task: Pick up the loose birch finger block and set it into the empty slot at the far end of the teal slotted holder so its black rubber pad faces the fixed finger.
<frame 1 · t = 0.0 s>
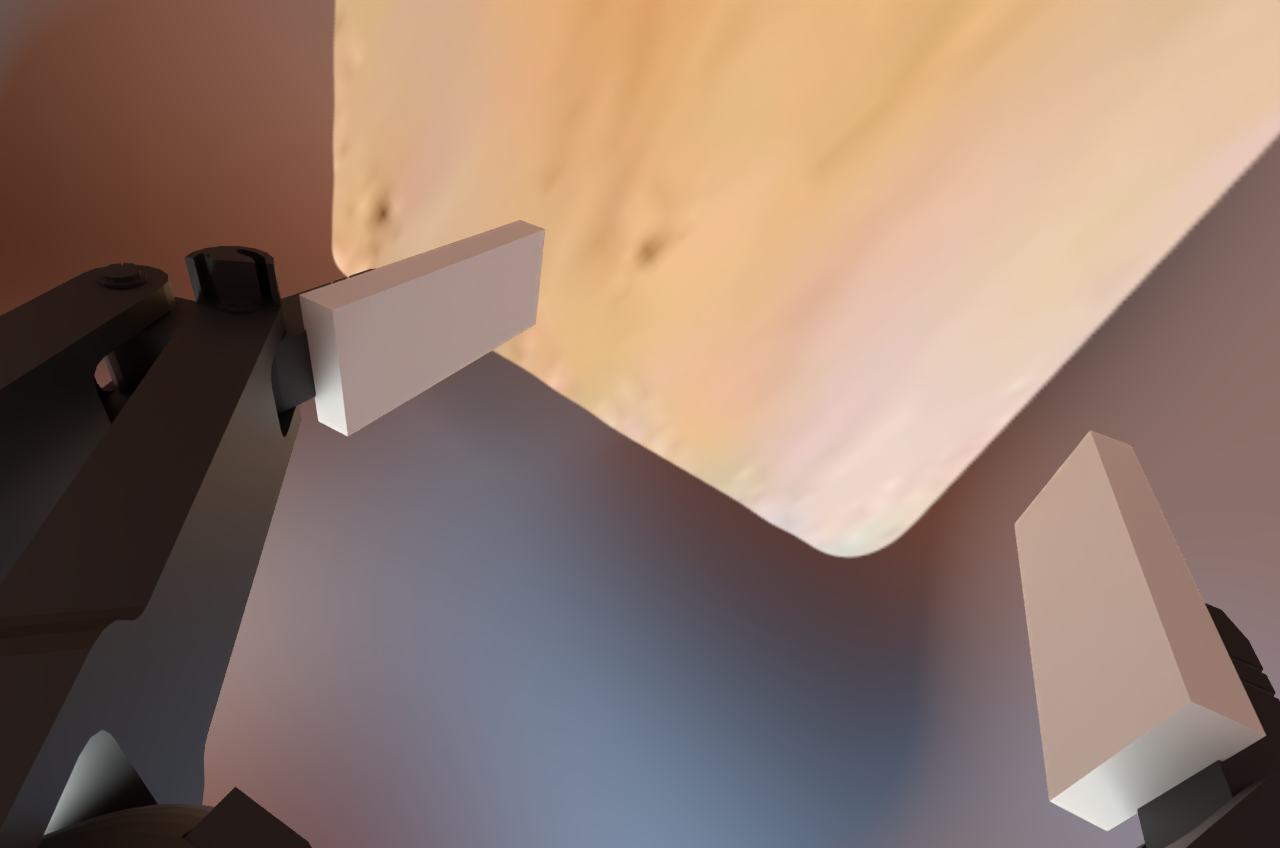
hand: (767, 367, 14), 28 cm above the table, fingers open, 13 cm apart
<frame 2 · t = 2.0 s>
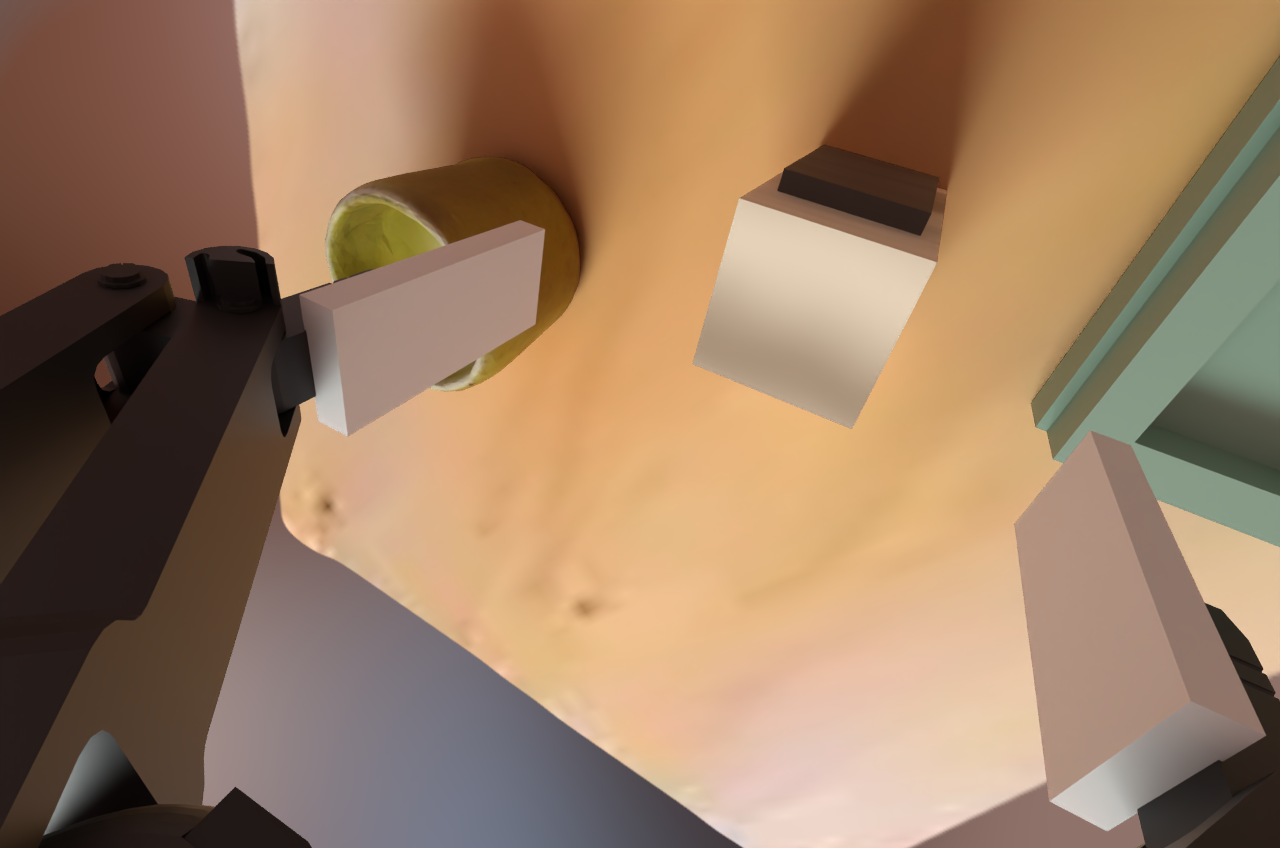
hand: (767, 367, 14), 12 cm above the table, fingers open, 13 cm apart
finger block: (853, 235, 24), on the table
mug: (498, 261, 32), on the table
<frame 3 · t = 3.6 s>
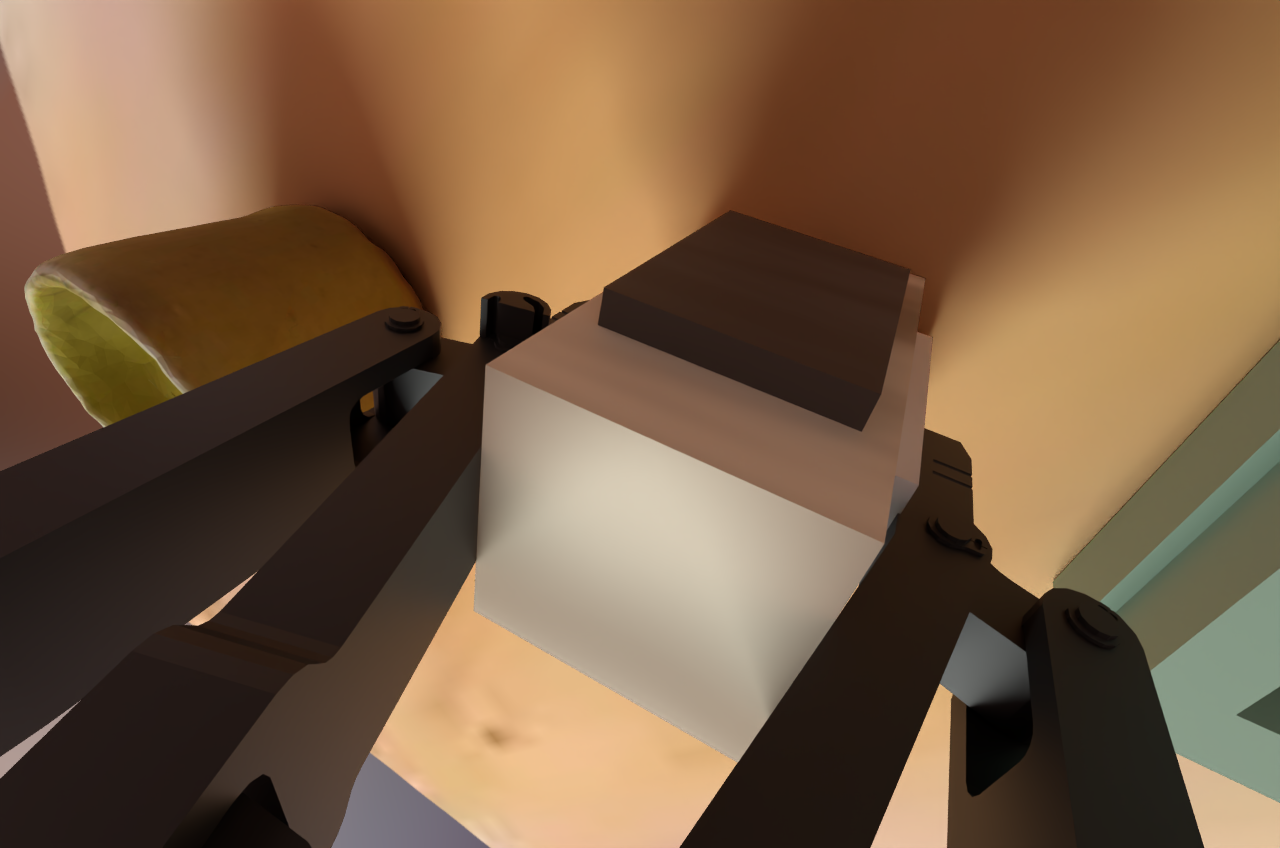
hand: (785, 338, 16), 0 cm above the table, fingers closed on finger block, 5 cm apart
finger block: (788, 334, 16), on the table, touching gripper
mug: (342, 334, 24), on the table
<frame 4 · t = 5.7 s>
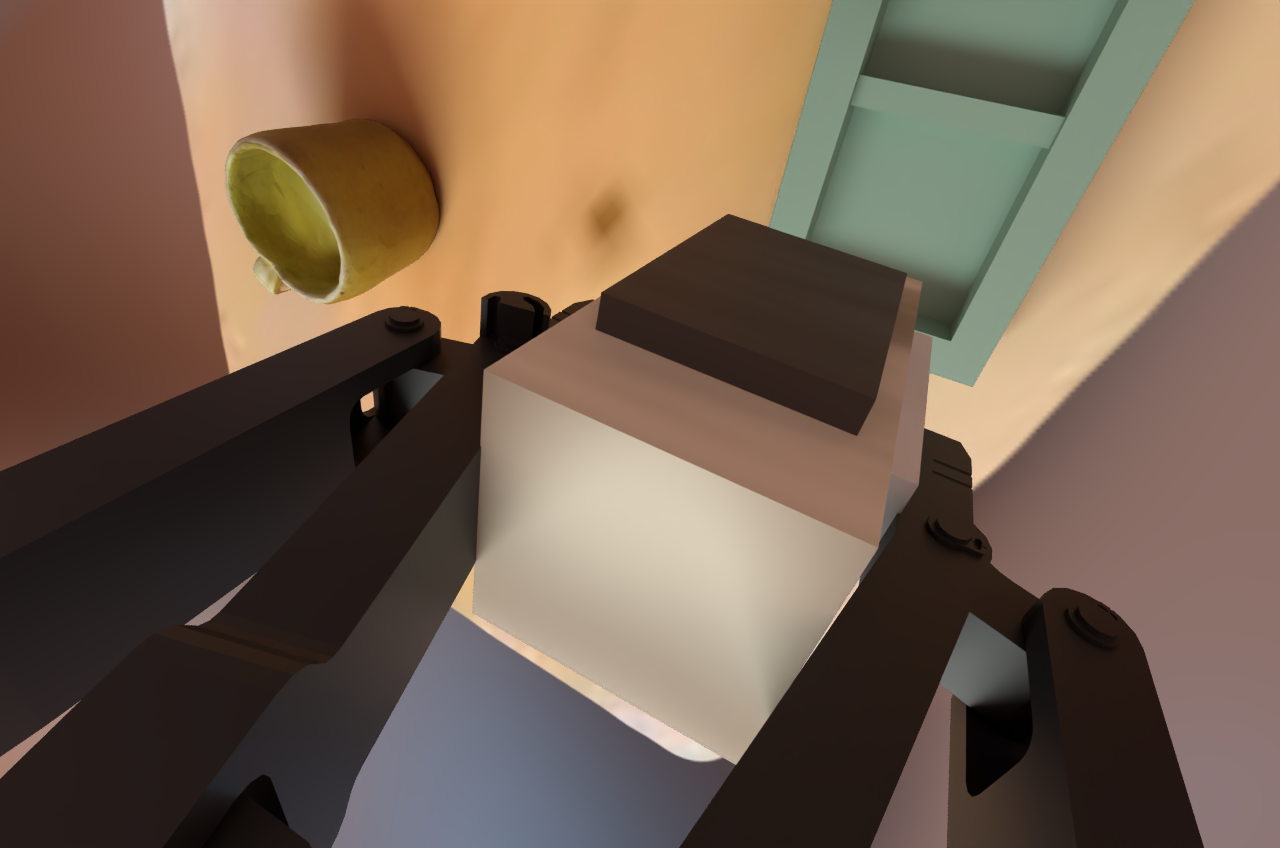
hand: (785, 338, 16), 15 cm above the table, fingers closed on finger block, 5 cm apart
finger block: (786, 336, 16), point 15 cm above the table, touching gripper
mug: (382, 209, 40), on the table
when the fingers open (4 cm above the table, at t = 8.1 s): finger block drops 2 cm, resting on teal slotted holder.
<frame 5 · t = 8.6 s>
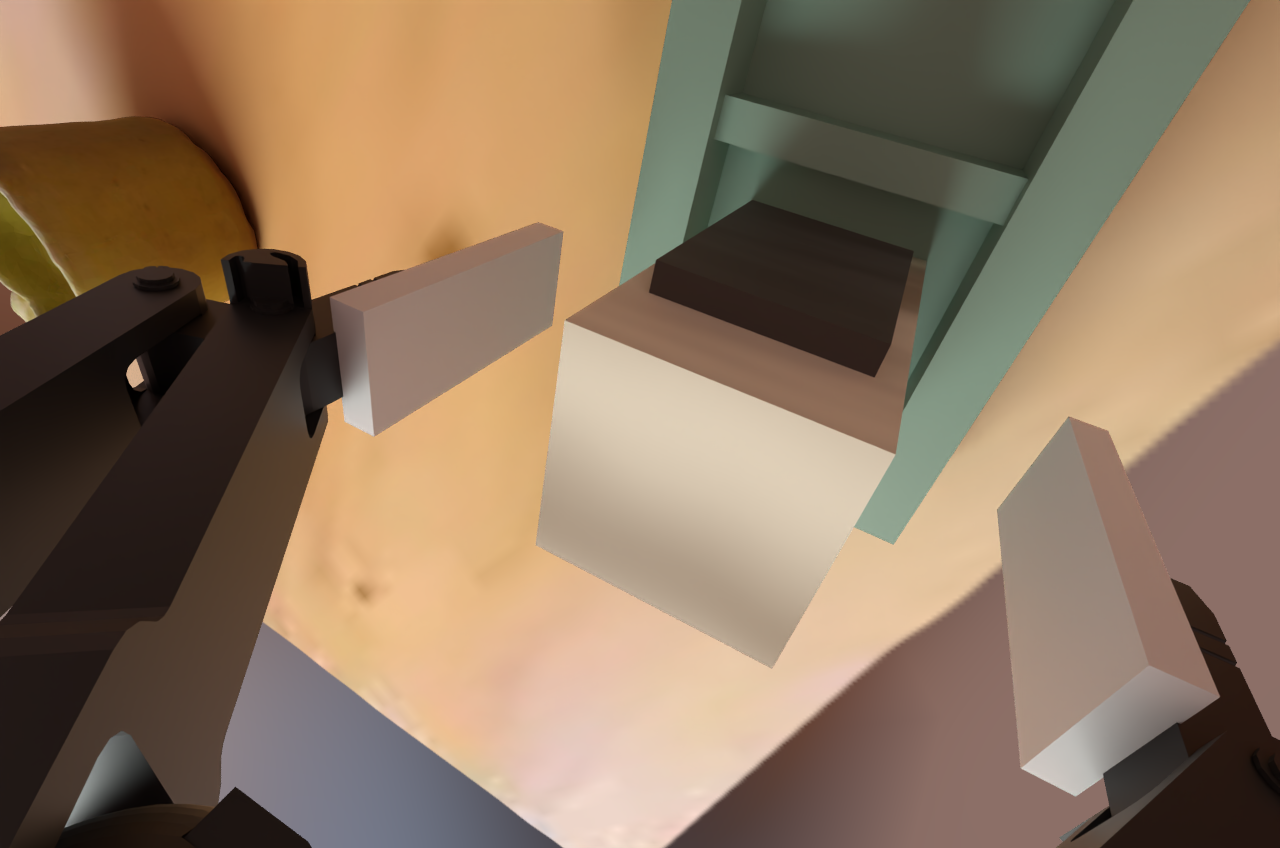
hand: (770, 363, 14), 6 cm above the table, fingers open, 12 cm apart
finger block: (802, 314, 17), point 2 cm above the table, touching teal slotted holder
mug: (197, 229, 31), on the table
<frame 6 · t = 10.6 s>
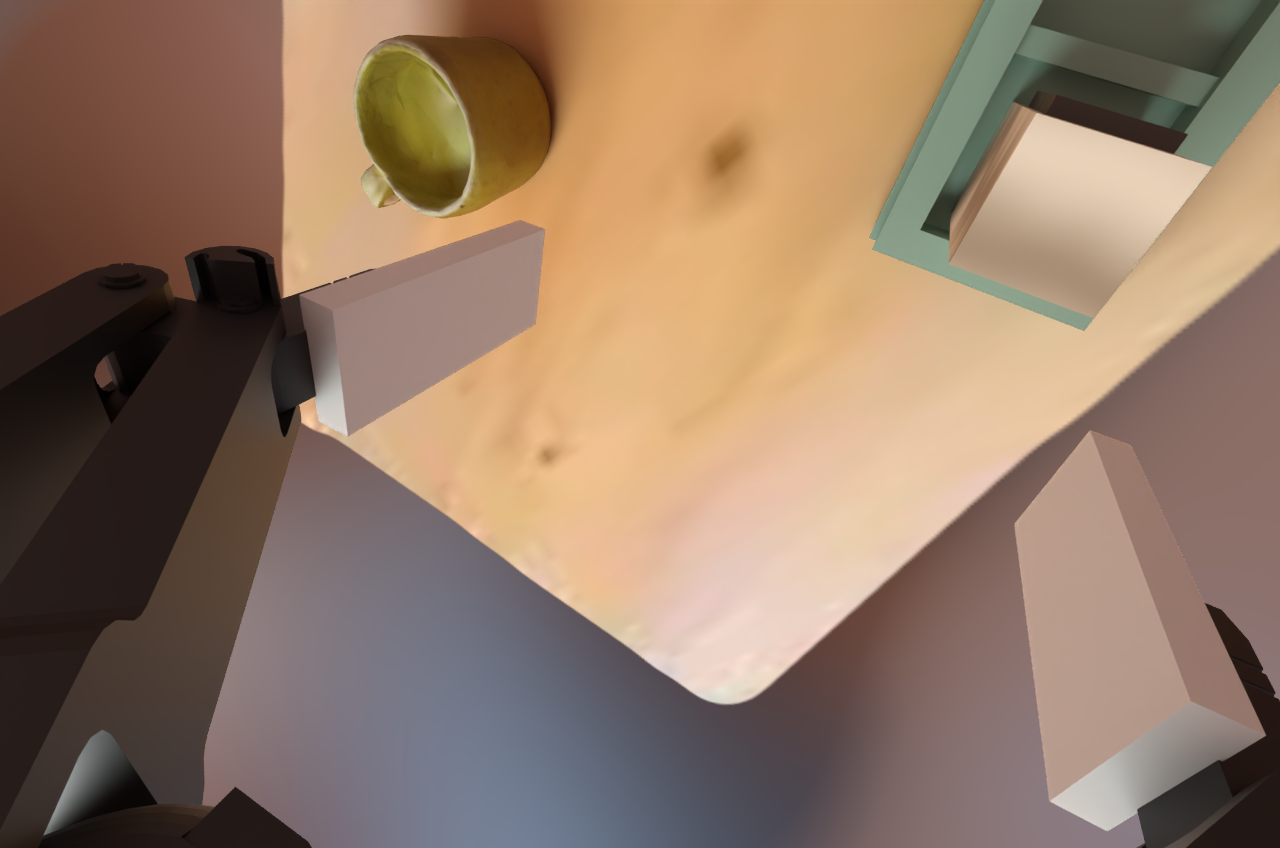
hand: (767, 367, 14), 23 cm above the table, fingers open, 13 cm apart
finger block: (1034, 178, 27), point 2 cm above the table, touching teal slotted holder
mug: (486, 133, 40), on the table
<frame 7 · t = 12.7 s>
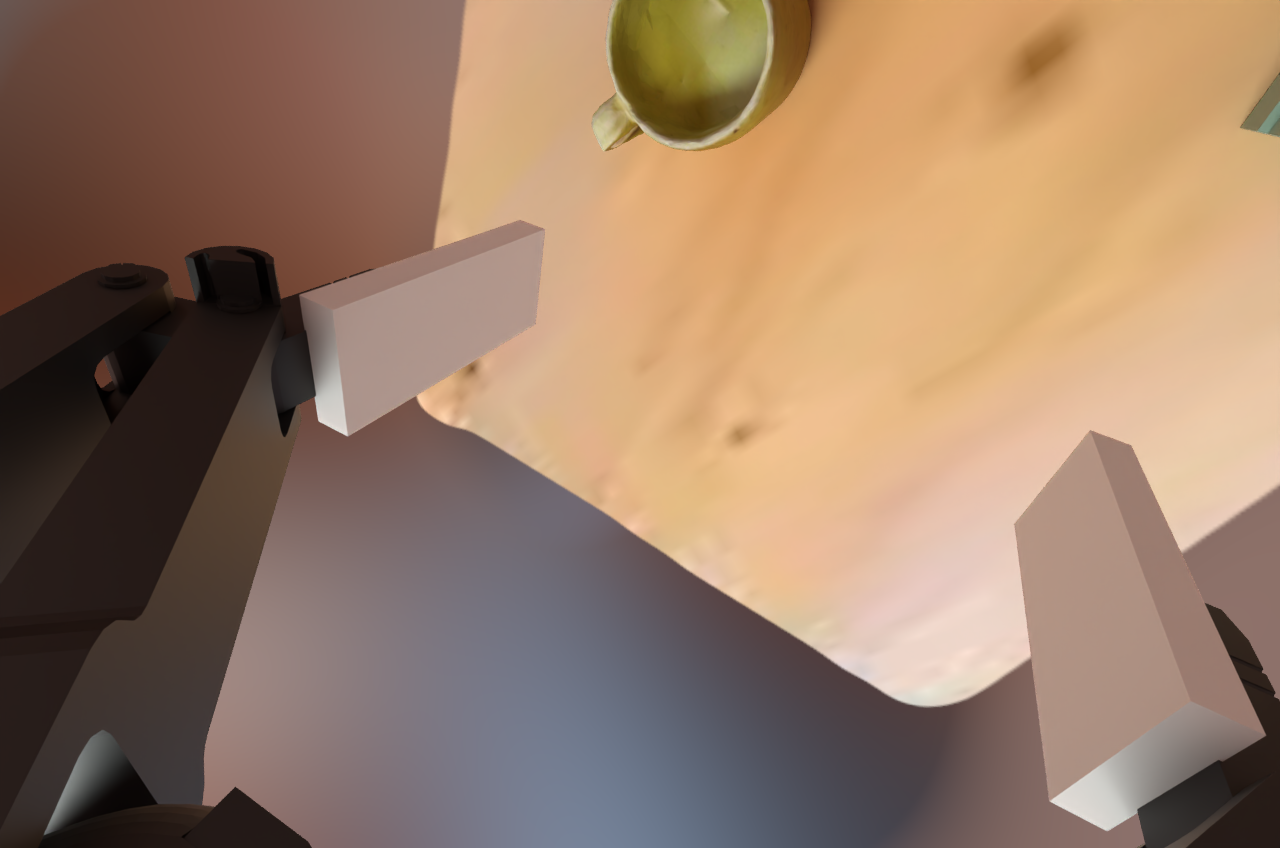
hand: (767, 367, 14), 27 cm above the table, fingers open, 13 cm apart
mug: (714, 65, 36), on the table
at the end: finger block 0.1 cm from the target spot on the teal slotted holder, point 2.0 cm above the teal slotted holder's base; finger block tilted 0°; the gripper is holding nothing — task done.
